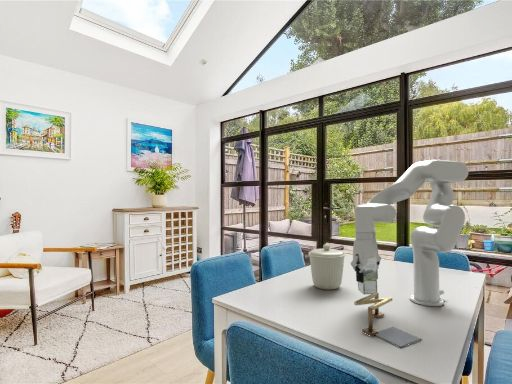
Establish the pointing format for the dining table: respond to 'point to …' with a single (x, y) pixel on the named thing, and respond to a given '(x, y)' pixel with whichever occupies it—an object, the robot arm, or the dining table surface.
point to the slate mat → (397, 336)
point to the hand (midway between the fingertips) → (367, 279)
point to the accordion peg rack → (371, 313)
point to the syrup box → (369, 277)
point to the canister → (327, 267)
